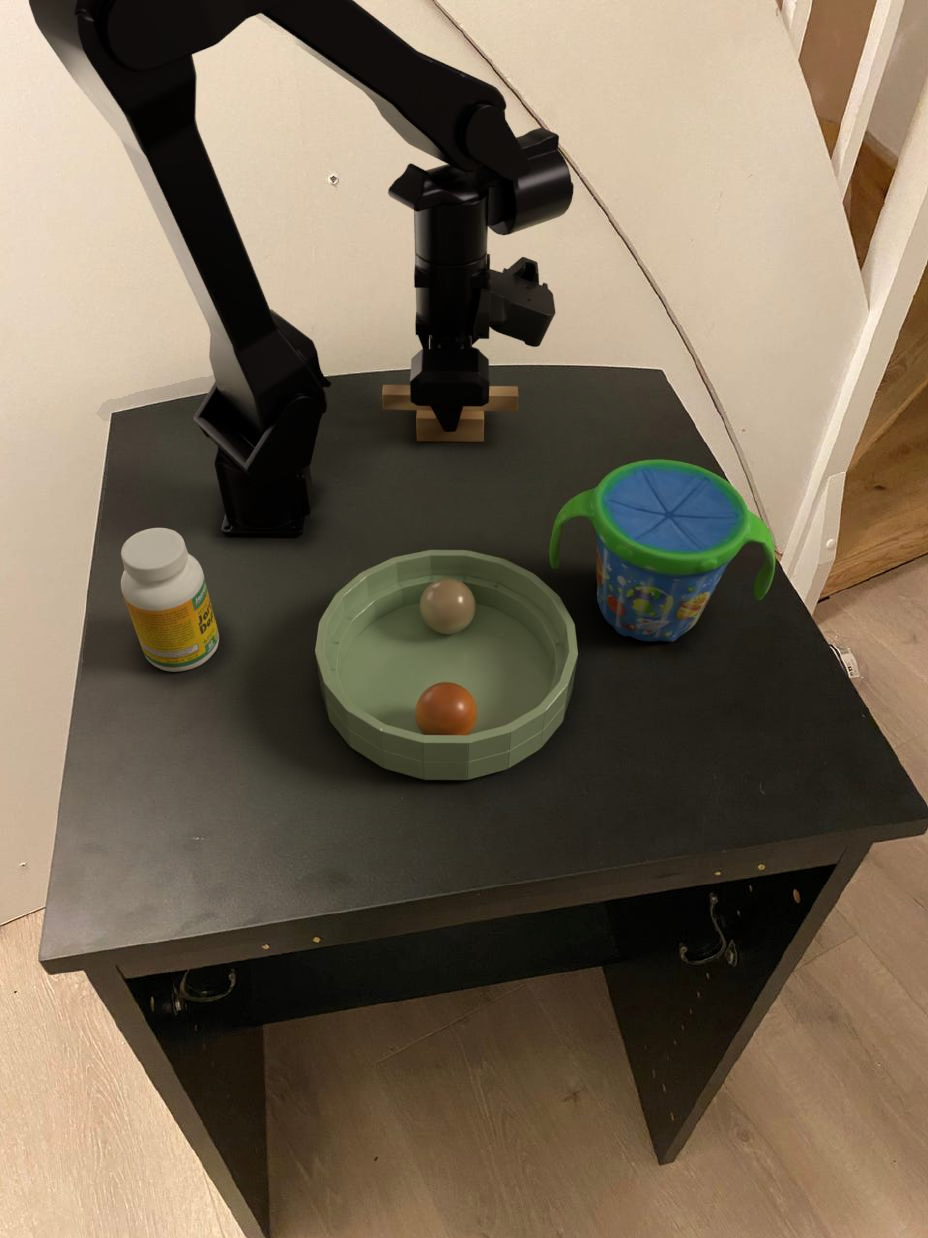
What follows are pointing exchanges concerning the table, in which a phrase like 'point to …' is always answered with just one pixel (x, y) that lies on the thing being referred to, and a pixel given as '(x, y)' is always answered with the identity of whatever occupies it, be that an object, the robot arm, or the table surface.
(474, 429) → the block
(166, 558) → the supplement bottle
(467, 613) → the ball taupe
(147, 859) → the table surface
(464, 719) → the ball tangerine
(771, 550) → the snack cup
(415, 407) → the wooden bar
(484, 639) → the bowl
